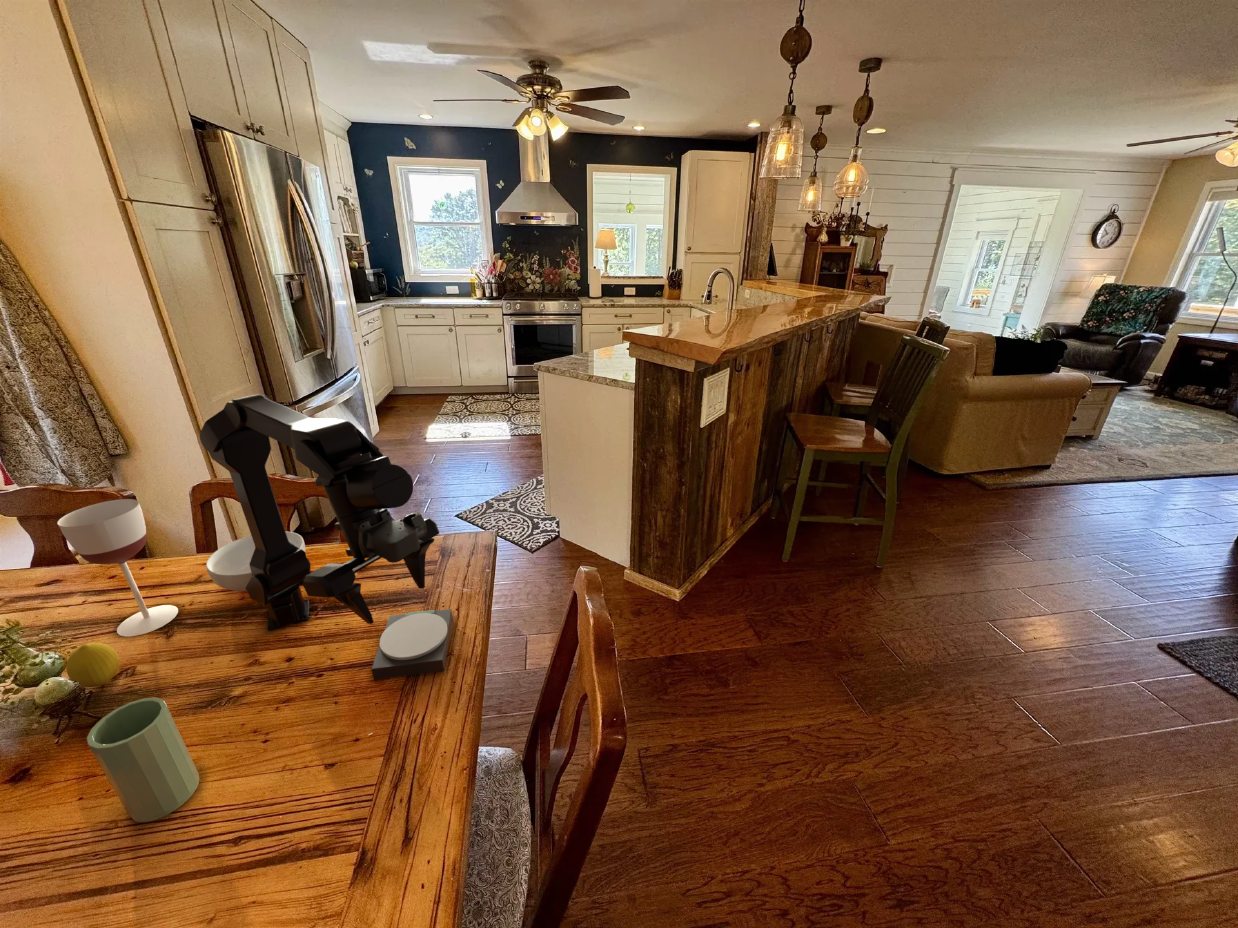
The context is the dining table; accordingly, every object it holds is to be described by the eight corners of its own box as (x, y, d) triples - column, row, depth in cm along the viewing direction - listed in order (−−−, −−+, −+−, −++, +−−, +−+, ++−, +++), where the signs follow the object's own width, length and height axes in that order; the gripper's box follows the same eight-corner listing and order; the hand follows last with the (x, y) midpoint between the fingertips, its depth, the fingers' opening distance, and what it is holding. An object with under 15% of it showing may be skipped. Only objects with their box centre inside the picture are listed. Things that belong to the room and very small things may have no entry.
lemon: (97, 701, 76) (75, 661, 72) (69, 694, 77) (47, 655, 73) (136, 673, 81) (117, 635, 77) (109, 668, 82) (90, 630, 78)
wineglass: (100, 630, 90) (45, 520, 81) (164, 598, 98) (120, 495, 89) (130, 644, 86) (75, 531, 78) (193, 610, 95) (151, 504, 86)
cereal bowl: (290, 600, 98) (281, 570, 95) (197, 608, 95) (185, 578, 93) (323, 553, 114) (316, 527, 111) (243, 559, 111) (234, 532, 108)
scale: (391, 625, 92) (388, 613, 91) (452, 618, 94) (451, 606, 93) (373, 680, 80) (370, 666, 79) (444, 670, 82) (441, 657, 81)
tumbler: (138, 783, 64) (99, 711, 59) (204, 760, 67) (172, 689, 62) (121, 833, 59) (76, 758, 54) (194, 805, 62) (157, 731, 57)
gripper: (325, 539, 58) (375, 650, 62) (444, 481, 73) (478, 573, 77) (279, 540, 64) (327, 642, 68) (399, 486, 79) (432, 572, 83)
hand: (397, 604), depth 74 cm, fingers open, 9 cm apart
